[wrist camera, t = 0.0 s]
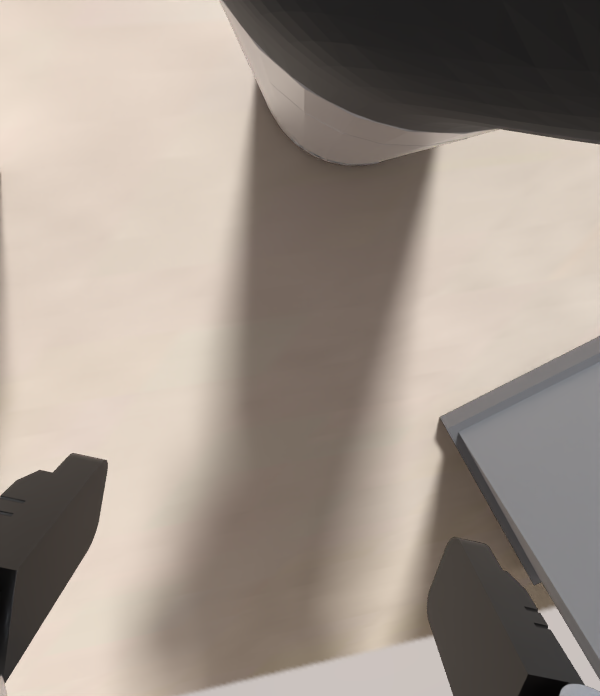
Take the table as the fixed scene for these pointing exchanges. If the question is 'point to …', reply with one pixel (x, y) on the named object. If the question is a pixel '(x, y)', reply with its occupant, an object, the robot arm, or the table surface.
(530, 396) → the charcoal pedestal
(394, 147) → the robot arm
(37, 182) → the table surface
